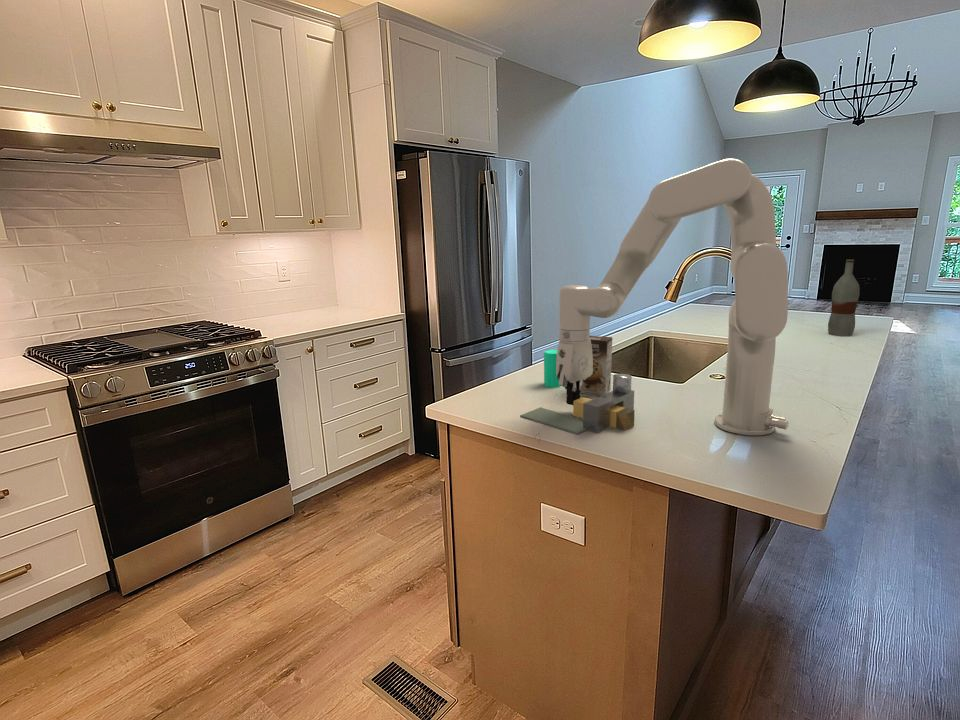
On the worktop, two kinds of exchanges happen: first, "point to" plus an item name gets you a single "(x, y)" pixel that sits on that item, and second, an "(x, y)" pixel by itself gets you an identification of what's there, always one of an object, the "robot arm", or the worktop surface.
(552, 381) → the candle
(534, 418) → the mat
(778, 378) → the worktop surface
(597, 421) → the housing
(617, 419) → the yellow rectangular block
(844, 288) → the bottle
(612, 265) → the robot arm
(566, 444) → the worktop surface
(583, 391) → the coffee box
